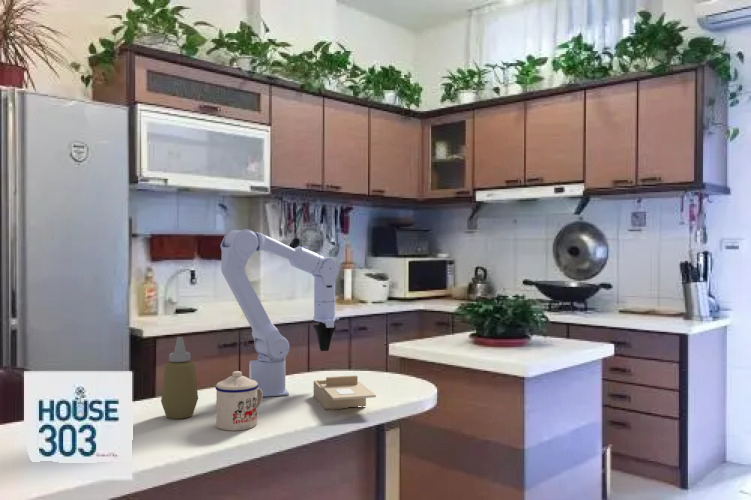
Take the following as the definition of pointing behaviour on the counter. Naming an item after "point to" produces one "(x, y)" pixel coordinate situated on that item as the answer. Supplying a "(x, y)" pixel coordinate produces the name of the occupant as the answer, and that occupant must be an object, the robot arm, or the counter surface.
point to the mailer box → (334, 404)
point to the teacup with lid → (237, 402)
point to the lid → (346, 388)
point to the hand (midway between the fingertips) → (324, 350)
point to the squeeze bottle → (179, 384)
